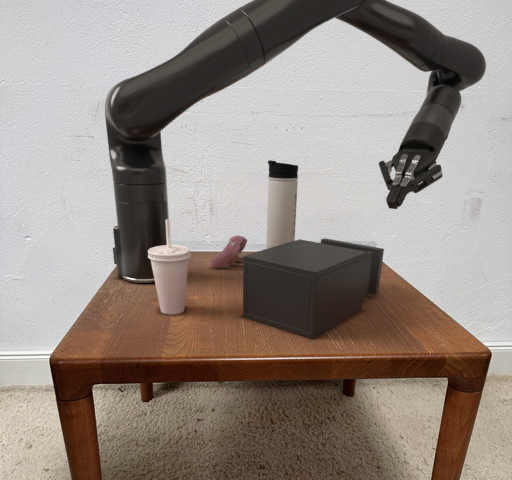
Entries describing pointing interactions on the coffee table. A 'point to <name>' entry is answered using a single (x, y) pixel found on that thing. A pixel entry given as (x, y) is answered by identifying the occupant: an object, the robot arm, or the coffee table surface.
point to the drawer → (371, 266)
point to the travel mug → (281, 203)
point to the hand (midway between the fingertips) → (391, 206)
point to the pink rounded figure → (230, 252)
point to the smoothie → (170, 274)
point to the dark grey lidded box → (303, 286)
